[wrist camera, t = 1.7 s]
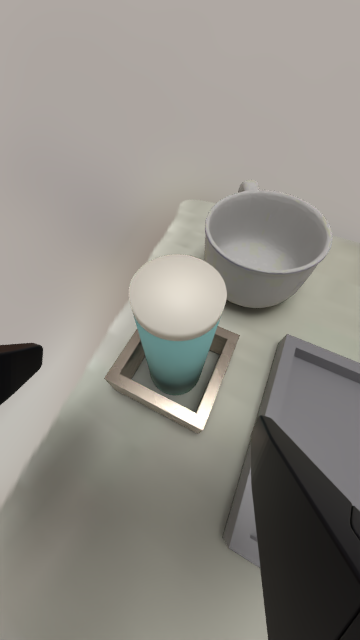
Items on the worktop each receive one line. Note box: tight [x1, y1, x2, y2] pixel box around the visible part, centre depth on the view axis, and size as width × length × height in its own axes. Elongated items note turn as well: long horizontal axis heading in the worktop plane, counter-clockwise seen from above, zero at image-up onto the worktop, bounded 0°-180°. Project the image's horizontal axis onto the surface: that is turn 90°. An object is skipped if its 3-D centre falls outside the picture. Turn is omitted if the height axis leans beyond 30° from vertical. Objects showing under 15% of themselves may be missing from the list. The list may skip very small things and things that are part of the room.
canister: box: [129, 254, 227, 395], centre depth 16 cm, size 5×5×12 cm
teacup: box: [205, 180, 333, 308], centre depth 24 cm, size 14×11×8 cm
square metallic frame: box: [104, 326, 240, 434], centre depth 20 cm, size 8×8×4 cm
